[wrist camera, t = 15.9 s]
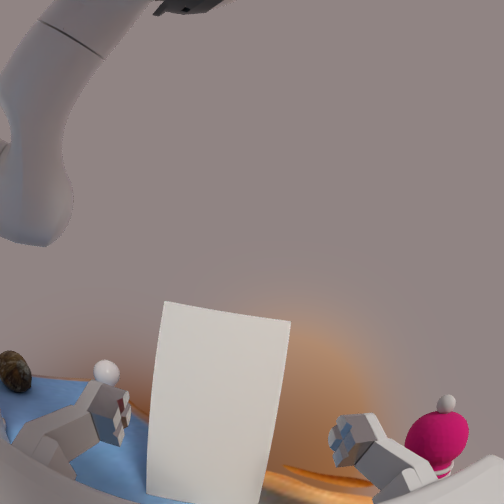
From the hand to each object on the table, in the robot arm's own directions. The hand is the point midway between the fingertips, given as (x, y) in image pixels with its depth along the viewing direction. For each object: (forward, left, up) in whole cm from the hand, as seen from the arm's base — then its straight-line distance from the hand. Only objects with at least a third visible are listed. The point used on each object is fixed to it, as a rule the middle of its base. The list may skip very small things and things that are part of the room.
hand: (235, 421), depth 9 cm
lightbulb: (-24, +50, -21) cm, 59 cm away
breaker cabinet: (0, +26, -21) cm, 33 cm away
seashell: (-42, +37, -21) cm, 60 cm away
